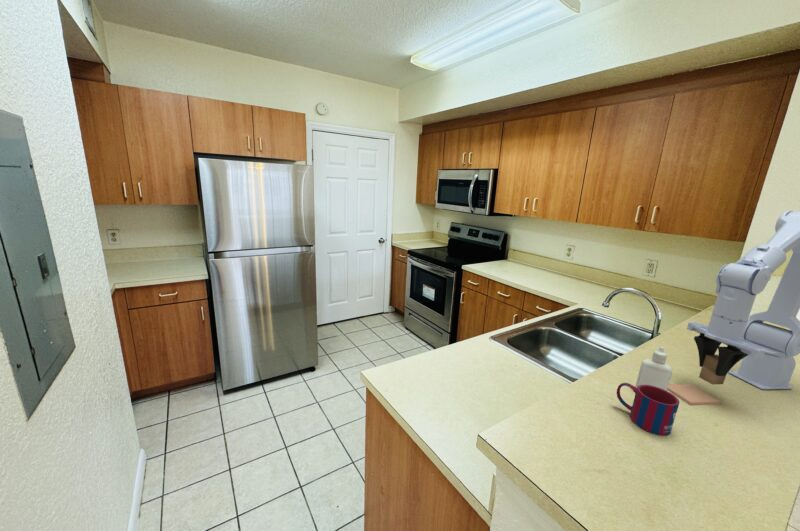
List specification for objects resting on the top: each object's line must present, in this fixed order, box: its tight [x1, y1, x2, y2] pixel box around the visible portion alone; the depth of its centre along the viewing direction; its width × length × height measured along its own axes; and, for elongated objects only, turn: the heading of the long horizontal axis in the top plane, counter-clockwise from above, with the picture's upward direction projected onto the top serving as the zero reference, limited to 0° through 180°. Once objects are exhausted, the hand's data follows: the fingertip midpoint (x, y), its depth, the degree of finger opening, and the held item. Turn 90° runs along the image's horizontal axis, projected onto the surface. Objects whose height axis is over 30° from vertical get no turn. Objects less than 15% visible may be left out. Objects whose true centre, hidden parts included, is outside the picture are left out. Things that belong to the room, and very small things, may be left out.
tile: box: [667, 383, 722, 406], centre depth 77 cm, size 1×7×8 cm
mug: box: [616, 382, 680, 436], centre depth 67 cm, size 7×10×7 cm
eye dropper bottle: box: [635, 346, 673, 391], centre depth 75 cm, size 4×6×12 cm
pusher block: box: [698, 354, 727, 385], centre depth 76 cm, size 3×3×6 cm
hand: (712, 370), depth 76 cm, fingers closed on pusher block, 3 cm apart
